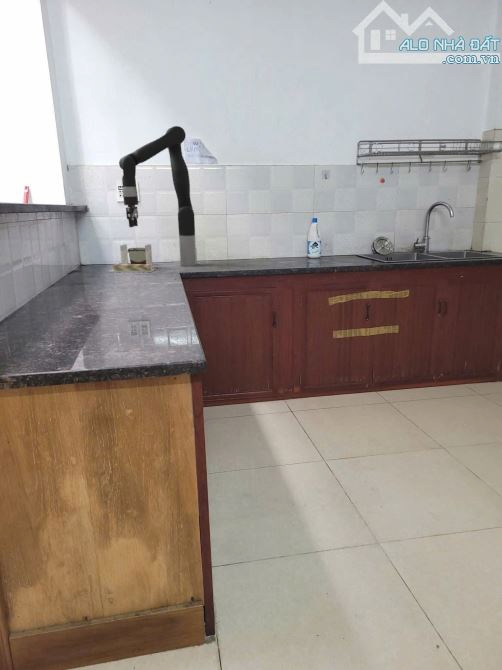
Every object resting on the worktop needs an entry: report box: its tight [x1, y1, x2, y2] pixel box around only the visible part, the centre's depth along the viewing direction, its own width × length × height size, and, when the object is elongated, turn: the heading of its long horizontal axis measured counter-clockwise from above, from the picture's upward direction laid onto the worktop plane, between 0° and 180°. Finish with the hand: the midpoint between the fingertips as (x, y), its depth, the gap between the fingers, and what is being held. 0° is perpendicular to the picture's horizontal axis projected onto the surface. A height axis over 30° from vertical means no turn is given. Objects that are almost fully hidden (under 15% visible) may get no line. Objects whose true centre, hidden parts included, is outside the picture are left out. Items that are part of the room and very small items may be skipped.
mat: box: [107, 268, 156, 273], centre depth 259 cm, size 24×8×1 cm, turn 87°
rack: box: [119, 243, 157, 269], centre depth 266 cm, size 20×7×13 cm, turn 87°
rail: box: [112, 263, 151, 271], centre depth 258 cm, size 20×3×3 cm, turn 86°
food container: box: [127, 247, 146, 264], centre depth 278 cm, size 12×6×10 cm, turn 84°
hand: (133, 226), depth 258 cm, fingers open, 8 cm apart
